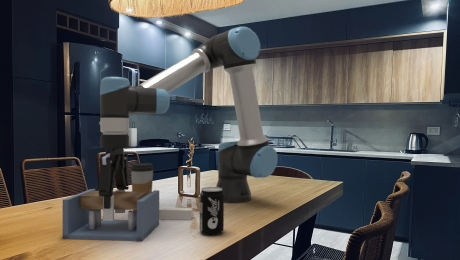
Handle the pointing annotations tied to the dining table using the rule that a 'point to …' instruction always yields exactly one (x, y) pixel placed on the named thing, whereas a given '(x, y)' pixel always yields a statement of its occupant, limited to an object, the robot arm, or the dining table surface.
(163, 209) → the block
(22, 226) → the dining table surface
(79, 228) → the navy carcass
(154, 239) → the dining table surface
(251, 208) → the dining table surface
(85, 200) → the walnut board
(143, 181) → the coffee cup
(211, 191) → the beverage can
